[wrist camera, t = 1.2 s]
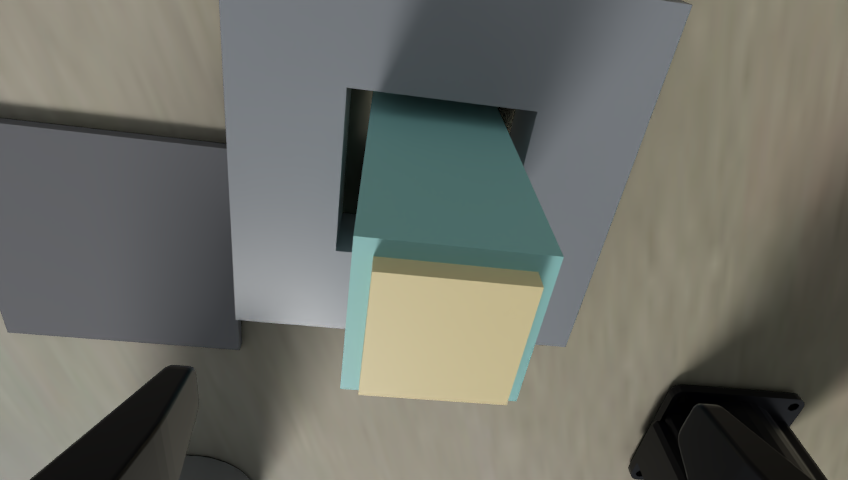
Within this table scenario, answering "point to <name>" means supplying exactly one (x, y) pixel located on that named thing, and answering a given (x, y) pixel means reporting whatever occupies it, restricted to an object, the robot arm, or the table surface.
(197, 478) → the bottle
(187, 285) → the pad
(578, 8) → the grey square socket block
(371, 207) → the plug
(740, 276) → the table surface
